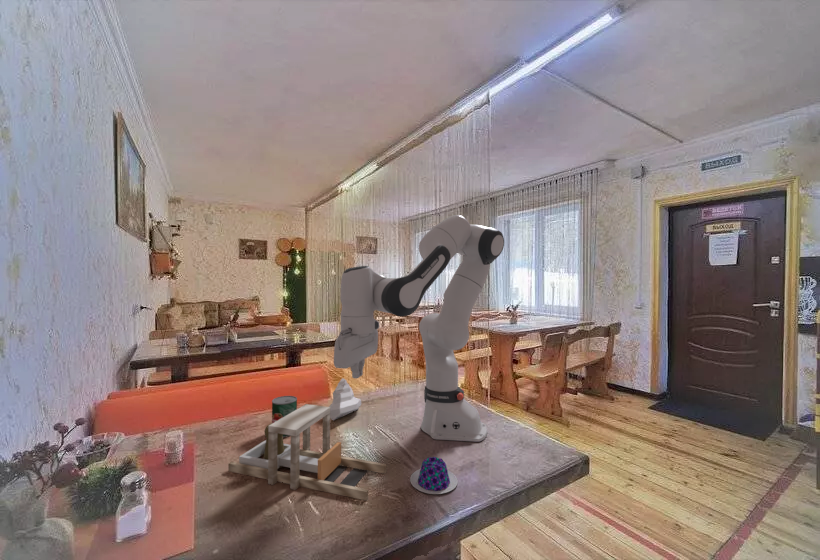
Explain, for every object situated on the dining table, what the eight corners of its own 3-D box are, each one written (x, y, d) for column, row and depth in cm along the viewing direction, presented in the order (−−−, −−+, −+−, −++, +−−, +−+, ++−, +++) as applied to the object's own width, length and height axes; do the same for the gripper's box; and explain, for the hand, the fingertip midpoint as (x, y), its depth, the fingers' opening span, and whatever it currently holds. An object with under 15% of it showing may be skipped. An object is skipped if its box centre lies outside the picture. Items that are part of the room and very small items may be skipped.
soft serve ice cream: (317, 422, 128) (313, 382, 132) (346, 413, 141) (342, 377, 144) (341, 421, 122) (336, 379, 125) (369, 411, 134) (365, 374, 137)
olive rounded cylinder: (275, 472, 92) (276, 430, 92) (257, 467, 94) (257, 427, 94) (290, 460, 98) (290, 421, 98) (273, 457, 100) (273, 418, 100)
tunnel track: (388, 468, 94) (389, 414, 94) (363, 504, 79) (363, 440, 79) (266, 446, 106) (266, 398, 106) (223, 474, 91) (223, 418, 91)
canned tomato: (266, 435, 114) (266, 401, 114) (283, 426, 121) (283, 394, 121) (285, 439, 111) (285, 405, 111) (301, 429, 118) (302, 397, 118)
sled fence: (341, 464, 95) (341, 442, 95) (321, 484, 86) (321, 460, 86) (265, 450, 103) (265, 430, 103) (239, 467, 93) (239, 445, 93)
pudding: (418, 466, 96) (419, 447, 96) (461, 474, 92) (462, 455, 92) (403, 490, 85) (403, 469, 85) (451, 501, 81) (451, 479, 81)
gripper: (350, 332, 84) (350, 389, 84) (381, 321, 103) (381, 368, 103) (326, 331, 85) (327, 387, 86) (362, 321, 105) (362, 367, 105)
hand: (357, 377), depth 95 cm, fingers closed
